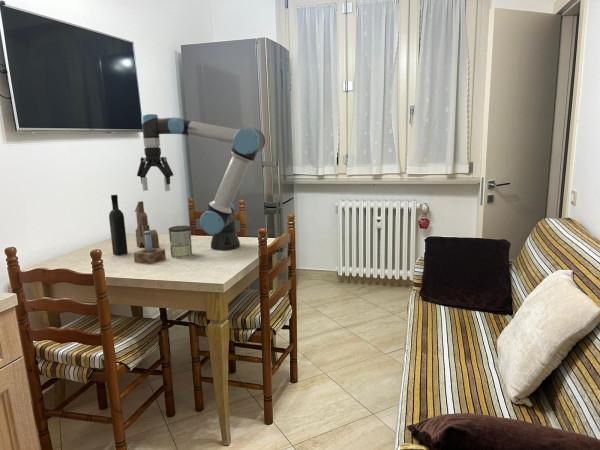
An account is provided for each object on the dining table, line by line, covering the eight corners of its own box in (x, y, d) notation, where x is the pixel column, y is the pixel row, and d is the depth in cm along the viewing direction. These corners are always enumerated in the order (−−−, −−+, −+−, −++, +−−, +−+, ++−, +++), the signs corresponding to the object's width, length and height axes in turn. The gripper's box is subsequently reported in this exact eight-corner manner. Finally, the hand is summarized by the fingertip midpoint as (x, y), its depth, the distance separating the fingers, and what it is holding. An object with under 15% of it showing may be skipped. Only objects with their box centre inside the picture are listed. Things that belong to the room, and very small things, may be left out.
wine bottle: (122, 251, 223) (116, 194, 217) (128, 253, 219) (122, 194, 214) (112, 254, 219) (105, 195, 213) (118, 255, 215) (111, 196, 210)
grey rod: (155, 259, 206) (152, 231, 203) (150, 261, 203) (147, 232, 200) (150, 259, 207) (147, 230, 205) (145, 260, 204) (142, 231, 202)
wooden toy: (160, 248, 229) (155, 201, 224) (147, 250, 225) (143, 202, 220) (147, 243, 240) (143, 199, 235) (135, 245, 236) (130, 200, 231)
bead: (165, 258, 208) (164, 249, 207) (151, 263, 199) (150, 254, 198) (149, 256, 212) (148, 247, 211) (134, 262, 203) (133, 252, 202)
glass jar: (167, 255, 212) (164, 227, 210) (185, 251, 220) (183, 224, 217) (177, 259, 205) (175, 230, 203) (196, 255, 212) (194, 227, 210)
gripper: (178, 146, 208) (181, 190, 212) (137, 147, 217) (142, 189, 221) (168, 146, 201) (172, 192, 205) (126, 147, 210) (131, 191, 214)
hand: (156, 190), depth 213 cm, fingers open, 13 cm apart
